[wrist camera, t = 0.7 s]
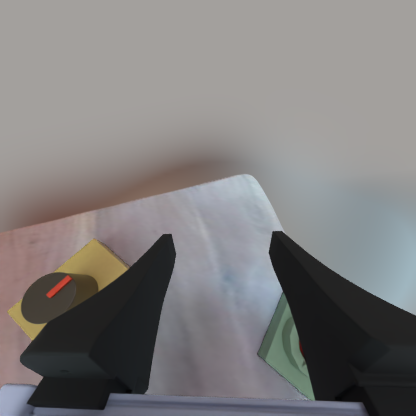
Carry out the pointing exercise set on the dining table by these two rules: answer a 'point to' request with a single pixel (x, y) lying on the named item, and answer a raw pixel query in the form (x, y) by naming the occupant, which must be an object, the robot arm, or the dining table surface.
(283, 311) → the green stepped block
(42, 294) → the dark brown rotary knob
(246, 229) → the dining table surface
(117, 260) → the plate
